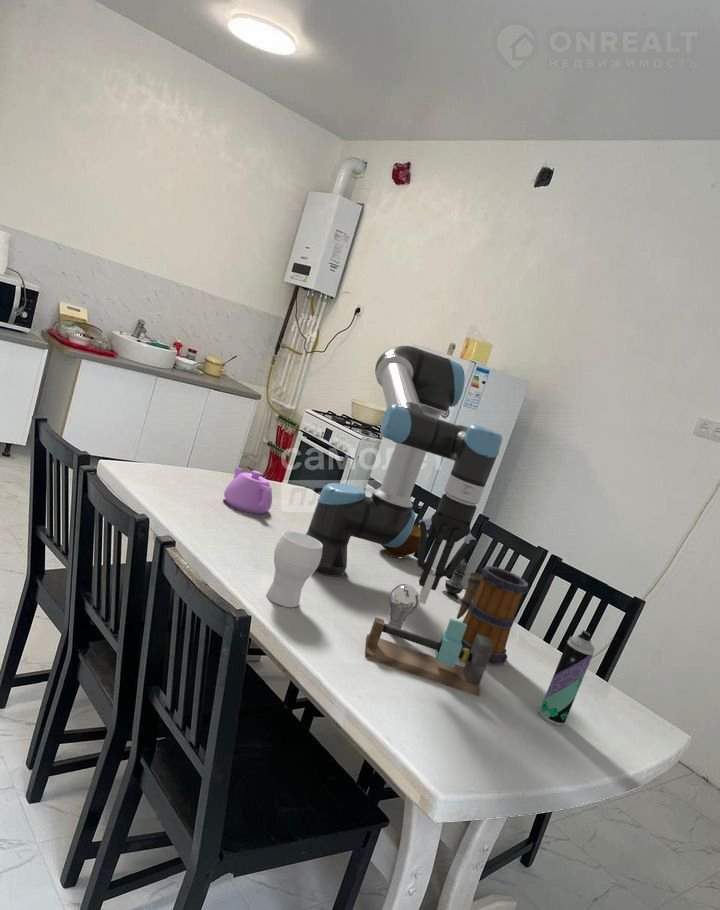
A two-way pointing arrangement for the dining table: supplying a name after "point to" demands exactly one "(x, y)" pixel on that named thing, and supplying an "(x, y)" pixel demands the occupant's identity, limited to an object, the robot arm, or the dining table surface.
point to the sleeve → (451, 643)
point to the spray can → (567, 679)
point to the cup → (293, 566)
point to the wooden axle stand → (429, 657)
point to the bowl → (406, 544)
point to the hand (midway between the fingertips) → (421, 600)
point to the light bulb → (402, 604)
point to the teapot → (249, 492)
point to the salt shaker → (455, 581)
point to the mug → (491, 608)
